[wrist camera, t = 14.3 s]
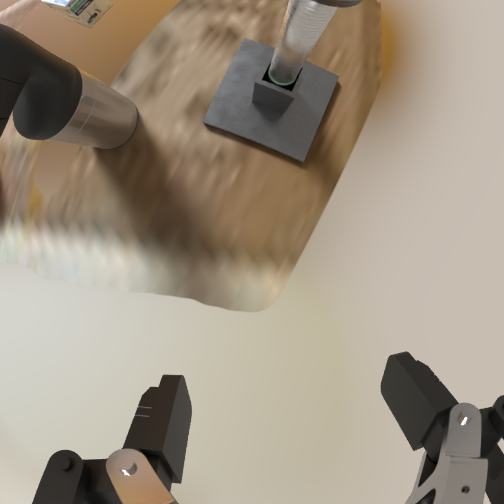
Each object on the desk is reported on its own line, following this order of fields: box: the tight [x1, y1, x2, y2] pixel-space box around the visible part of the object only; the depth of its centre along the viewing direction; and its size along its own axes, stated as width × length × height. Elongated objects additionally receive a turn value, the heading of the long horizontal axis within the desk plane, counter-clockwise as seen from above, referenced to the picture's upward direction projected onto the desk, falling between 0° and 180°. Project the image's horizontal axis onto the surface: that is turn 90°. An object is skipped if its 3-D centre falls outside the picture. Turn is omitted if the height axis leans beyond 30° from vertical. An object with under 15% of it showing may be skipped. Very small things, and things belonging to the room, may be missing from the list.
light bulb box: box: [41, 0, 113, 28], centre depth 24 cm, size 11×7×11 cm, turn 53°
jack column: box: [266, 0, 363, 90], centre depth 19 cm, size 5×5×24 cm
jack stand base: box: [203, 38, 339, 163], centre depth 32 cm, size 16×16×10 cm
